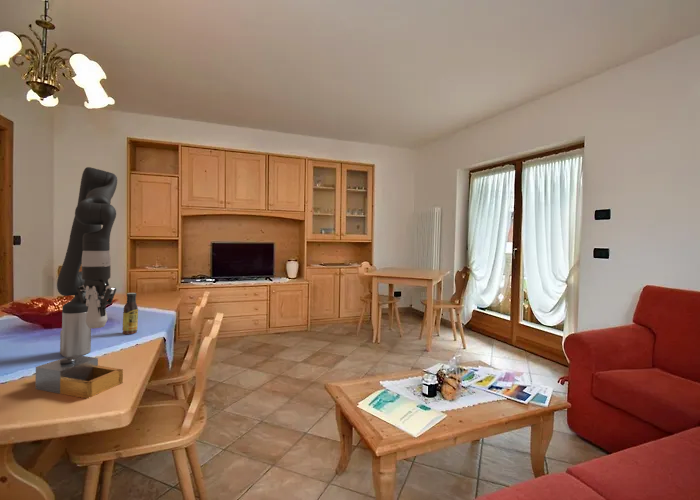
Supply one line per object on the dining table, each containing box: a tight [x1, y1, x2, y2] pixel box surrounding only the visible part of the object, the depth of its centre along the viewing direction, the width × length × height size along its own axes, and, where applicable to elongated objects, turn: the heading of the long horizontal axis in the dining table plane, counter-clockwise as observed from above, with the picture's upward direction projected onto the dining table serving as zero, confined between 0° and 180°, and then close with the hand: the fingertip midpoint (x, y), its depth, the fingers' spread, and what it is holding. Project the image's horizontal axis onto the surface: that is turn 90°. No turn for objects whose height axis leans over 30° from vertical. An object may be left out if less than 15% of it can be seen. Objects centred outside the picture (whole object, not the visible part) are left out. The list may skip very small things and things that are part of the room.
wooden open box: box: [34, 355, 124, 399], centre depth 111 cm, size 24×12×8 cm, turn 76°
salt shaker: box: [86, 288, 108, 330], centre depth 111 cm, size 6×6×13 cm
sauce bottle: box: [122, 292, 139, 335], centre depth 169 cm, size 6×6×20 cm
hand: (96, 317), depth 111 cm, fingers closed on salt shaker, 3 cm apart
